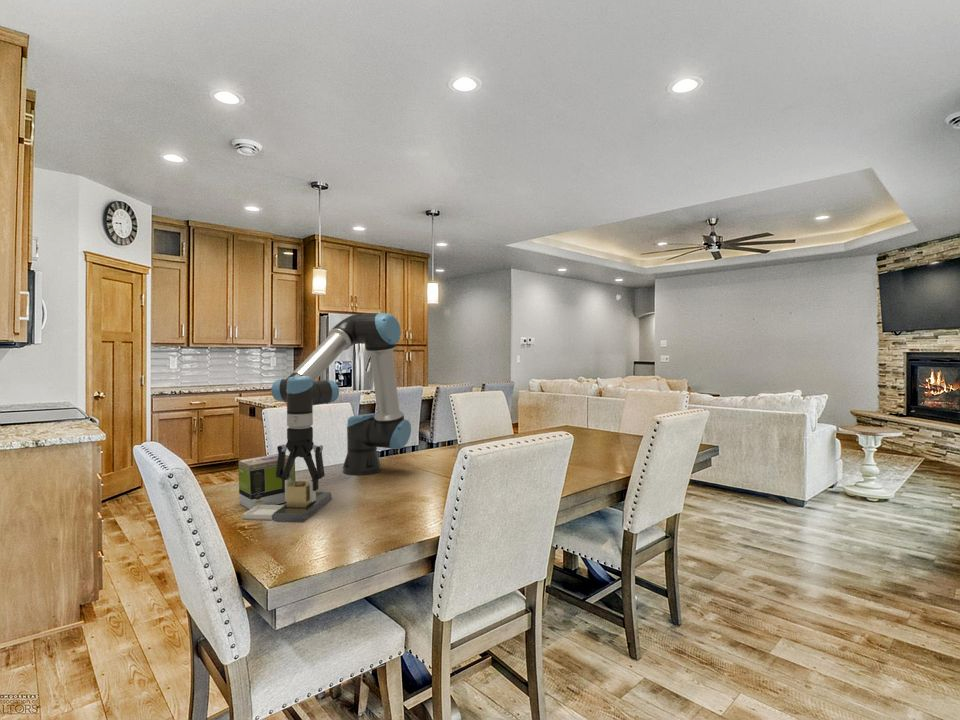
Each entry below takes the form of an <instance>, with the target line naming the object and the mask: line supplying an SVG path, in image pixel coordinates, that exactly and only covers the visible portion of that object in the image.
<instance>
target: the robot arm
mask: <svg viewBox="0 0 960 720" xmlns="http://www.w3.org/2000/svg"><path fill="white" fill-rule="evenodd" d="M401 332H402V330H401V326H400V323H399V320H398V319H397V318H396V317H395V316H394V315H393V314H392V313H384V312H372V313H369V312H368V313H355V314H354V313H353V314H351V315H349V316H347V317H345V318H343V319H342V320H341V321H340V322H338V323H337V324H336V325H334V326H333V327H332V328H331V329H330V330H329V332H328V335H327V337H326V338H325V339H324V340H323V341H322V342H321V343H320V344H319V345H318V346H317V347H316V348H315V349H314V350H313V351H312V353H311V354H309V355H308V357H307V358H305V360H304V361H302V363H300V365H299V366H298V367H296V368H295V369H294V370H293V372H292V373H290V375H289V376H287V377H286V378H281V379H279V378H278V379H277V380H275V381H274V382H273V383H272V386H271V389H270V391H271V395H272V397H273V399H274V400H276V401H278V402H284V403H286V425H287V428H286V439H287V441H286V444H280V445H278V446H277V447H276V449H277V454H278V461H277V470H276V477H277V478H278V477H279V478H281V479H282V489H283V490H285V501H287V486H288V485H290V484H291V478H288V477H289V474H290V472H291V469H292V466H293V464H294V461H295V462H296V459H297V458H303V461H305V464H306V467H307V470H308V472H309V475H310V476H311V480H309V482H310V502H313V501H315V500H316V492H317V491H318V490H319V487H320V486H319V485H320V484H319V480H320V479H322V478H324V477H325V467H324V460H323V448H324V446H323V445H321V444H320V445H316V444H315V443H314V440H313V438H314V436H313V435H314V430H313V429H314V428H313V424H314V421H313V420H314V419H313V417H314V416H313V415H314V414H313V412H314V411H313V410H314V409H313V407H314V406H316V405H324V404H326V405H327V404H330V403H333V402H335V401H336V400H337V399H338V398H339V396H340V388H339V386H338V384H337V383H336V382H335V381H334V380H329V379H328V380H327V379H326V380H325V379H324V380H318V378H319V377H320V376H321V375H322V374H323V373H324V372H325V371H326V370H327V369H328V367H330V366H331V364H332V363H334V361H335V360H336V359H337V358H338V357H339V356H340V355H341V354H342V353H343V351H347V350H349V349H350V348H351V347H352V346H353V345H358V344H359V345H360V344H364V346H365V347H364V348H365V351H366V352H367V353H368V354H369V356H370V363H371V370H372V371H371V373H372V378H373V388H374V395H375V404H376V405H375V406H376V413H375V412H374V413H365V414H357V415H352V416H350V417H348V419H347V424H346V431H347V432H346V436H347V437H346V438H347V439H346V441H347V443H346V444H347V446H346V447H347V453H346V456H345V459H344V463H343V465H342V472H343V473H344V474H347V475H351V476H365V475H372V474H377V473H379V472H380V471H381V469H382V467H381V466H382V463H381V460H380V458H379V456H378V455H379V454H378V452H377V448H384V449H392V450H394V449H396V450H397V449H398V450H399V449H402V448H404V447H405V446H406V445H407V444H408V442H409V440H410V437H411V434H412V425H411V422H410V421H409V420H408V419H405V415H404V412H403V411H401V410H400V405H399V397H398V387H397V380H396V371H395V370H396V369H395V363H394V362H395V359H394V350H395V349H396V347H397V344H398V343H399V341H400V340H401V337H400V336H401V334H402V333H401ZM287 450H288V452H289V454H288V456H289V457H288V461H287V464H286V467H285V469H284V463H285V455H287V454H286V451H287ZM312 451H313V452H314V458H315V462H314V459H313V454H312V453H311V452H312ZM283 471H284V472H283Z"/></svg>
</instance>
